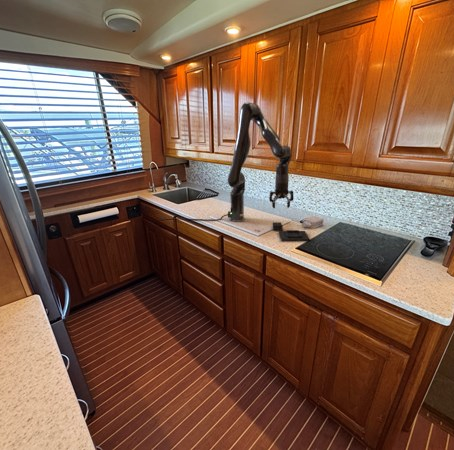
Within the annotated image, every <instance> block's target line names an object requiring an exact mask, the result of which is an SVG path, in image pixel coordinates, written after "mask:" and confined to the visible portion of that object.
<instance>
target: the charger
mask: <svg viewBox="0 0 454 450" xmlns="http://www.w3.org/2000/svg"><path fill="white" fill-rule="evenodd" d="M323 225H324V218H323V217H319V216H316V215H310V216H307V217H305V218H303V221H302V223H301V226H303V227H305V228H308V227H309V228H311V229H316V228H318V227H321V226H323Z"/></svg>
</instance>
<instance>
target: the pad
mask: <svg viewBox="0 0 454 450" xmlns="http://www.w3.org/2000/svg"><path fill="white" fill-rule="evenodd" d="M272 230H273V232H279V231H283V224H282V222H280V221H279V222H272Z"/></svg>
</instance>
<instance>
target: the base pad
mask: <svg viewBox="0 0 454 450" xmlns="http://www.w3.org/2000/svg"><path fill="white" fill-rule="evenodd" d="M278 236H279V238H280V241H281V242H310V241H311V239H310V237H309V235H308V234H307V232H306V231H305V230H300V229H299V230H298V229H294V230H293V229H287V230H282V231H278Z"/></svg>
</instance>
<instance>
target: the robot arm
mask: <svg viewBox="0 0 454 450" xmlns="http://www.w3.org/2000/svg"><path fill="white" fill-rule="evenodd" d="M239 110H240V111H239V119H238V129H237V134H236V139H235V145H234V148H233V149H234V150H233V155H232V156H233V157H232V161H231V166H230V170H229V173H228V176H227V183H228V185H229V187H230V188H232V189H231V191H230V193H229V197H230V211H229V210H228V211H227V213H226V214H224V215H222V216H221V217H220V218H217V219H213V218H212V219H209V218H208V219H207V218H206V219H203V218H185V217H184V218H183V217H182V218H178V217H177V218H175V217H174V218H160V219H158V221H160V222H161V221H172V220H176V221H177V220H185V221H186V220H187V221H188V220H189V221H206V222H207V221H210V222H211V221H213V222H215V221H221V220H222V219H223V218H224V217H227V219H230V221H231V222H243V221H244V220H245V204H244V203H245V201H244V200H245V192H246V178H245V177H246V176H245V175H244V174H243V173H242V169H243V166H244V164H245V163H246V160H247V158H248V156H249V153H250V149H251V137H250V127H251V126H250V125H251V121H252V122H254V123H255V124H256V126H258V128H259V130H260V134H261V136H262V138H263V139H264V141H265V142H266V143H267V145H268V146H269V148H270V150H271V153H272V154H273V156H274V157H275V158H276V159H277V160H279V162H278V163H277V164H276V166H275V181H274V182H275V183H274V191H271V190H270V191H269V197H268V198H269V199H268V201H269V202H271V206H272V208H273V209H276V201H277V200H278V199H279V200H281V199H286V208H288V209H289V208H290V207H291V202H293V201H294V190H292V189H291V190H289V181H290V179H289V177H290V176H289V167H290V163H291V158H292V149H291V146H289V145H282V143H281V138H280V136H279V135H278V134H277V133H276V131H275V130H274V129H273V127H272V126H271V124H270V123H269V122H268V120H267V119H266V117H265V115H264V113H263V111H262V110H261V108H260V105H258V104H257V103H254V102H247V101H246V102H244V103H243V104H241V107H240V109H239ZM288 195H289V196H290V197H289V196H288Z"/></svg>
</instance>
